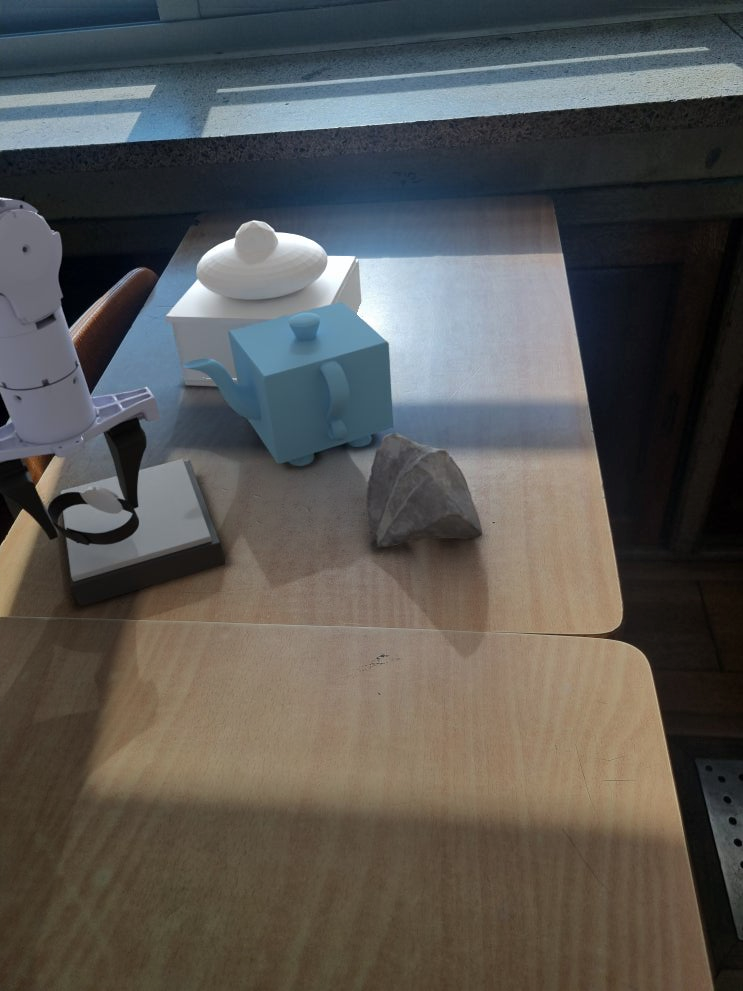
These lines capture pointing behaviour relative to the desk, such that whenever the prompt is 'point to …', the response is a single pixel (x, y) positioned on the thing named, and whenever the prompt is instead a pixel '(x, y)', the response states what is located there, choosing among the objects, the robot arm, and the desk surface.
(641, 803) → the desk surface
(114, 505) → the watch
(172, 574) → the scale
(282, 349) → the teapot
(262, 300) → the butter dish
